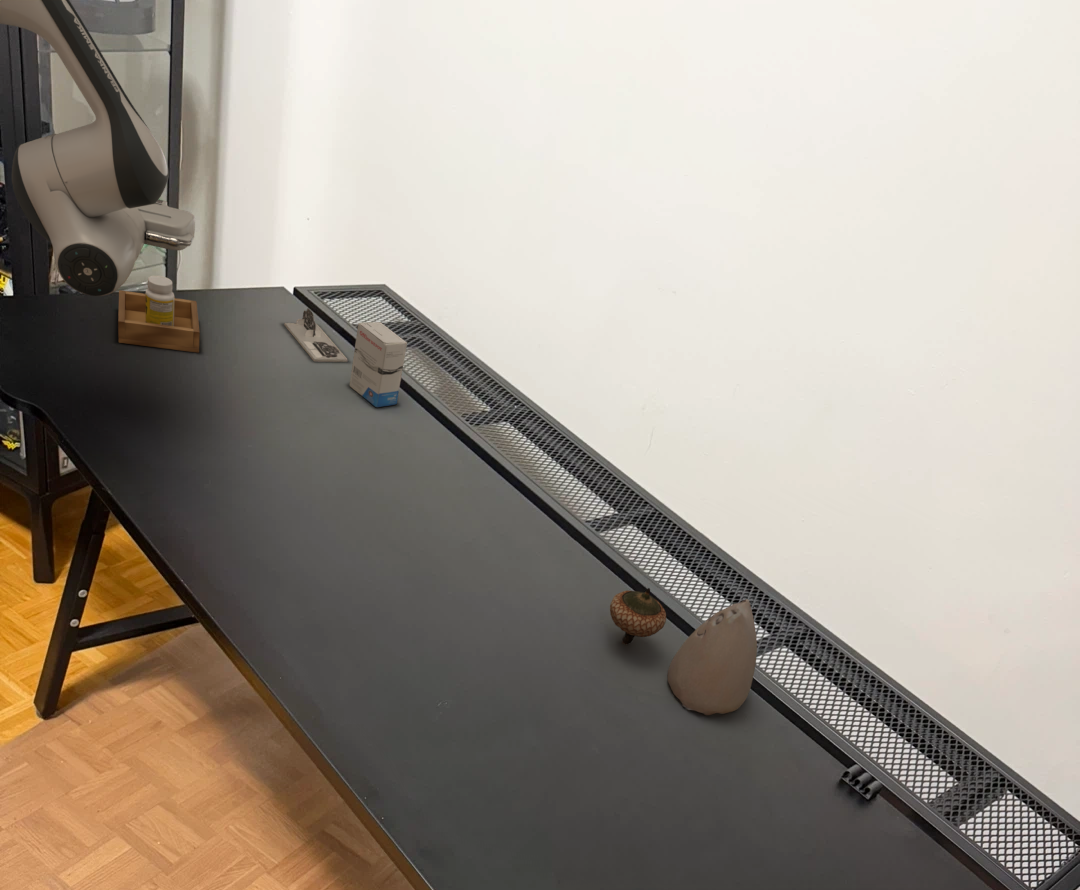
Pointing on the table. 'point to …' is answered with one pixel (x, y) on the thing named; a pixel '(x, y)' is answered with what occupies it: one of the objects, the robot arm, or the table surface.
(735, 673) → the sculpture
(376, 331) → the ink box
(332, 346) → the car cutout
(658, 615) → the acorn
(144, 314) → the box
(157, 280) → the supplement bottle
